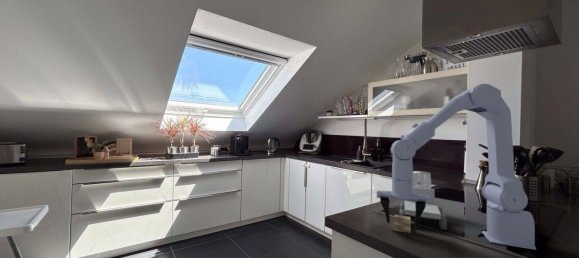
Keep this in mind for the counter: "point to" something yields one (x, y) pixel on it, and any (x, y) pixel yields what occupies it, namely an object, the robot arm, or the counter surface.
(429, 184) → the beer glass
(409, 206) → the trolley
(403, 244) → the counter surface
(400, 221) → the block
